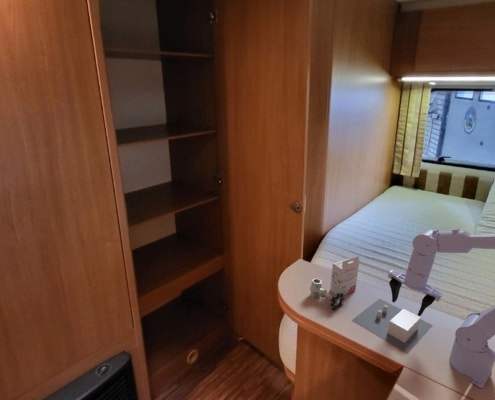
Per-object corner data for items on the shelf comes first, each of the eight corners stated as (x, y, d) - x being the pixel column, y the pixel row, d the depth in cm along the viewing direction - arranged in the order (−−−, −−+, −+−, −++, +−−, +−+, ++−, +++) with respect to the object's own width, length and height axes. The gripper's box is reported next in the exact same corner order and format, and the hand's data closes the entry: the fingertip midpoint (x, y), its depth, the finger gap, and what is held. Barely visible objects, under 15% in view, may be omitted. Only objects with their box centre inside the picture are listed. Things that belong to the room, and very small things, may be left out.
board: (432, 327, 105) (434, 318, 103) (406, 356, 93) (408, 346, 92) (379, 300, 117) (380, 292, 116) (351, 322, 106) (352, 313, 105)
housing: (400, 320, 106) (403, 308, 105) (417, 329, 102) (420, 317, 101) (387, 332, 101) (389, 320, 99) (404, 343, 97) (407, 330, 95)
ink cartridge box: (345, 284, 127) (350, 250, 122) (355, 291, 123) (360, 256, 118) (329, 290, 123) (333, 255, 118) (338, 297, 119) (343, 262, 114)
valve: (304, 297, 119) (331, 314, 110) (306, 281, 117) (333, 298, 108) (316, 290, 123) (343, 307, 114) (318, 275, 120) (345, 290, 112)
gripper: (450, 276, 92) (436, 314, 97) (399, 254, 101) (389, 290, 106) (442, 286, 87) (428, 325, 92) (389, 262, 96) (379, 299, 102)
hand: (406, 307), depth 99 cm, fingers open, 7 cm apart
